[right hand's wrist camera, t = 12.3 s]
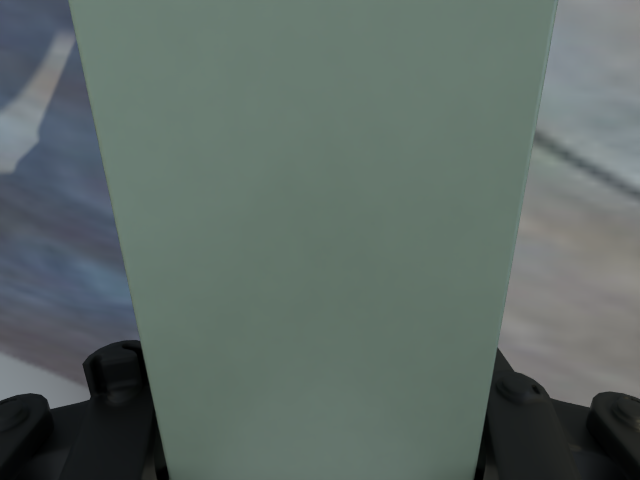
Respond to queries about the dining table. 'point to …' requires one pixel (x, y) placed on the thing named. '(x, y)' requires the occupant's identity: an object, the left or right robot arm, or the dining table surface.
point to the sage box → (317, 221)
